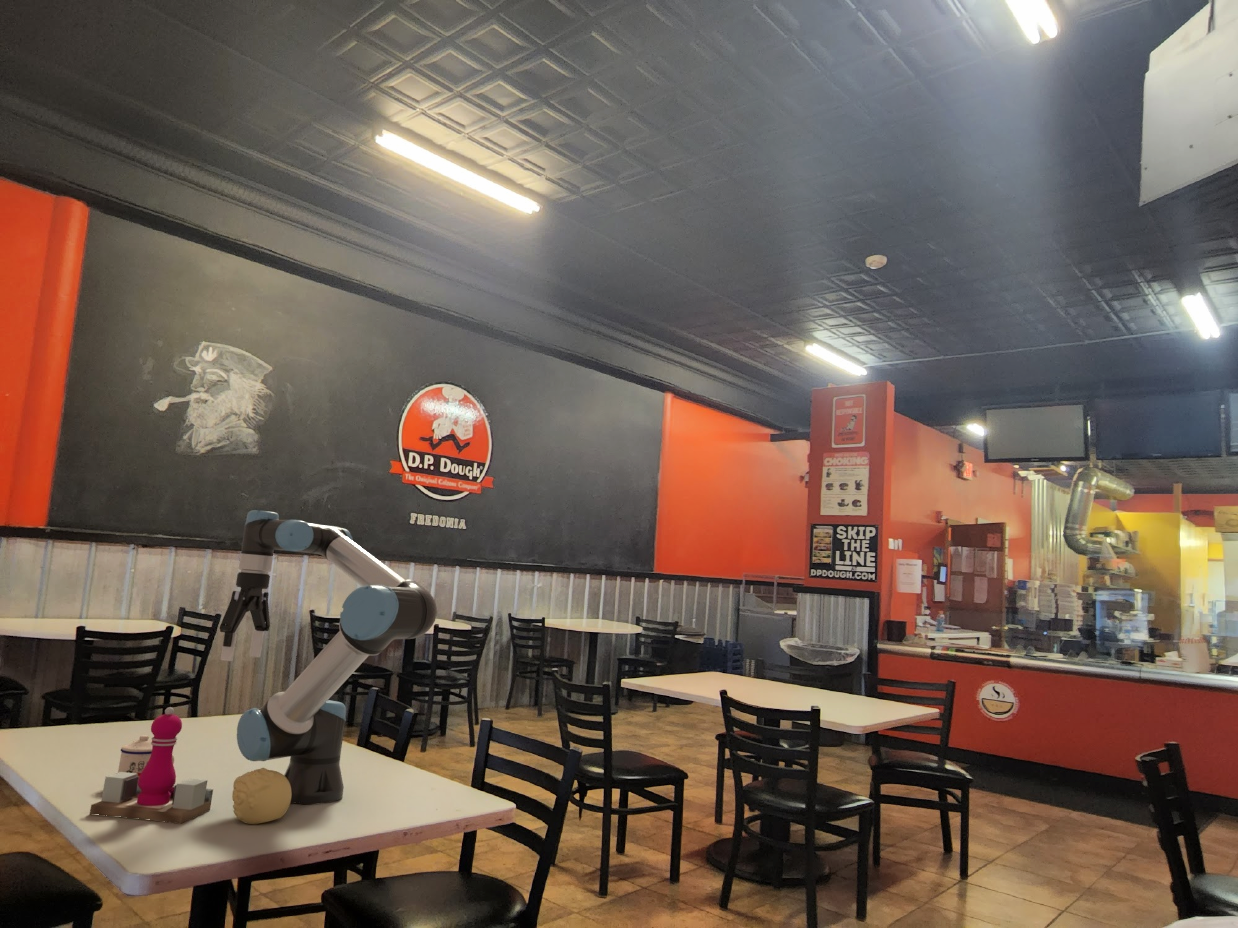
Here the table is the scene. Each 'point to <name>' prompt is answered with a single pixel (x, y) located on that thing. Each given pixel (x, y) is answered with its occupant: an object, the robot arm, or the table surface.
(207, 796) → the steel rail bar
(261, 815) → the sculpture
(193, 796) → the block
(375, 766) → the table surface
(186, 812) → the wooden frame tray
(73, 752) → the table surface
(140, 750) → the teacup with lid
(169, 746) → the pepper mill
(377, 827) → the table surface
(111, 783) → the finger block
